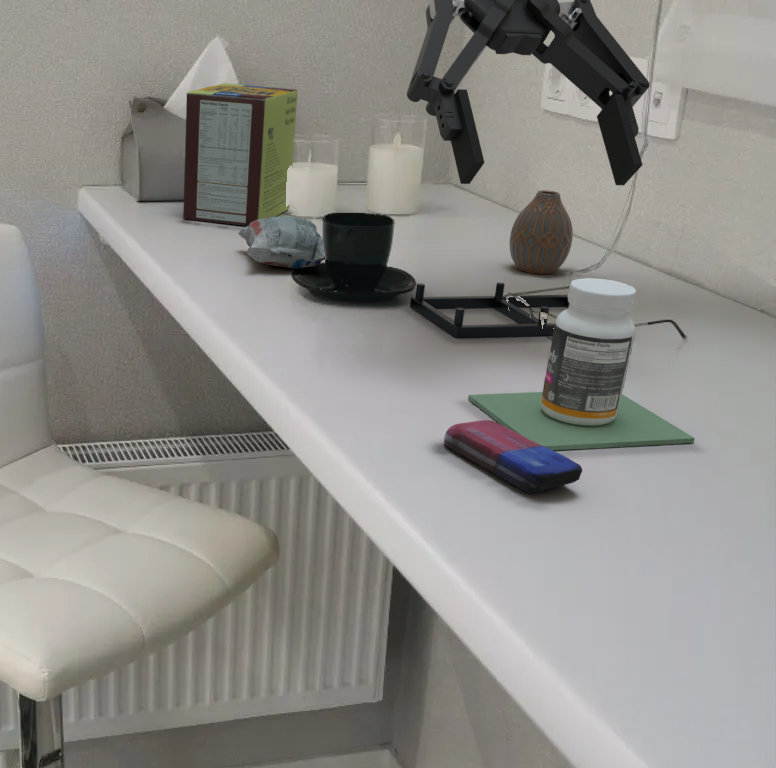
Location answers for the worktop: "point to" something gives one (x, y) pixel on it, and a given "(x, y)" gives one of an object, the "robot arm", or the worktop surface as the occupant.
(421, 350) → the worktop surface
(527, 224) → the vase
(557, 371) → the pill bottle
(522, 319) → the black rectangular frame
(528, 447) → the eraser
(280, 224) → the packaged food
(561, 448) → the mat
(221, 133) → the protein box
